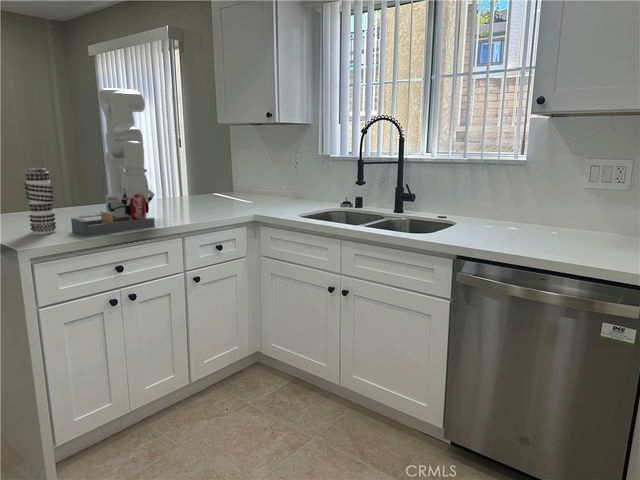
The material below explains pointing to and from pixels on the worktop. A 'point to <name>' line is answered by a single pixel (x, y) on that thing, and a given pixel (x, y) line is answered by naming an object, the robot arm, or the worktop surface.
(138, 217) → the soda can
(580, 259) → the worktop surface
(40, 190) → the black white tall cylinder
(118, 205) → the ink box
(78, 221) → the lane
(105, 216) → the pusher
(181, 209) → the worktop surface
